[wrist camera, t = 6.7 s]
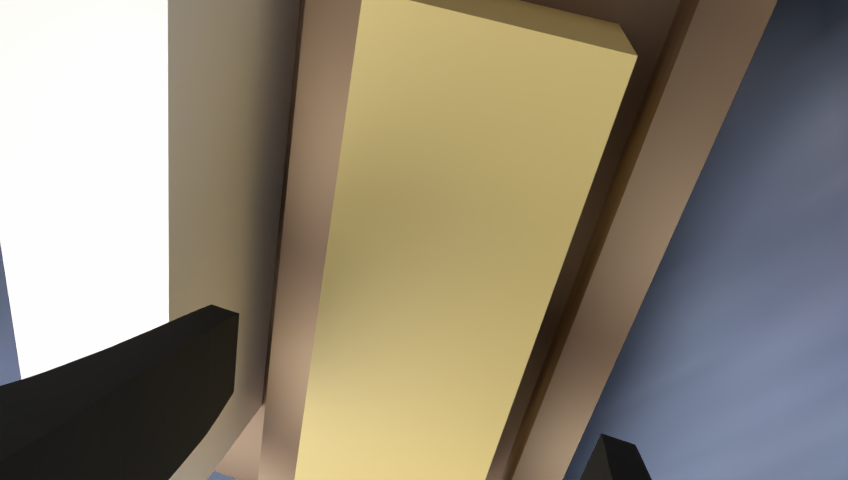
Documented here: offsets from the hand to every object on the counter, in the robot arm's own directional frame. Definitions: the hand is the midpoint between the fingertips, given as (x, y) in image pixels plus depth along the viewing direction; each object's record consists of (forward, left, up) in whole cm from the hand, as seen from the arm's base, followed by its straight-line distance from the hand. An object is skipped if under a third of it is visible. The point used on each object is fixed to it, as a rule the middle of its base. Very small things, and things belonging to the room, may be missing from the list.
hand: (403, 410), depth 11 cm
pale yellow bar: (0, 0, -5) cm, 5 cm away
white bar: (0, +7, -5) cm, 9 cm away
